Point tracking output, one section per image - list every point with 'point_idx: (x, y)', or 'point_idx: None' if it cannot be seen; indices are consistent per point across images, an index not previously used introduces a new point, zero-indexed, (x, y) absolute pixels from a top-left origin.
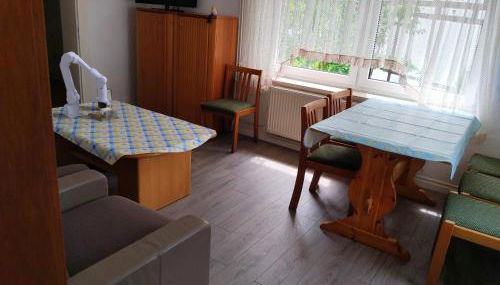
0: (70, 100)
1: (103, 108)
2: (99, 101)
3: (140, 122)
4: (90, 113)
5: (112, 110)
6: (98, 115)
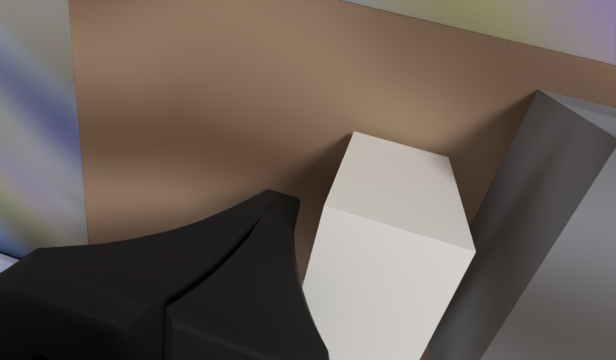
0: None
1: None
2: None
3: None
4: (106, 240)
5: (599, 267)
6: None
